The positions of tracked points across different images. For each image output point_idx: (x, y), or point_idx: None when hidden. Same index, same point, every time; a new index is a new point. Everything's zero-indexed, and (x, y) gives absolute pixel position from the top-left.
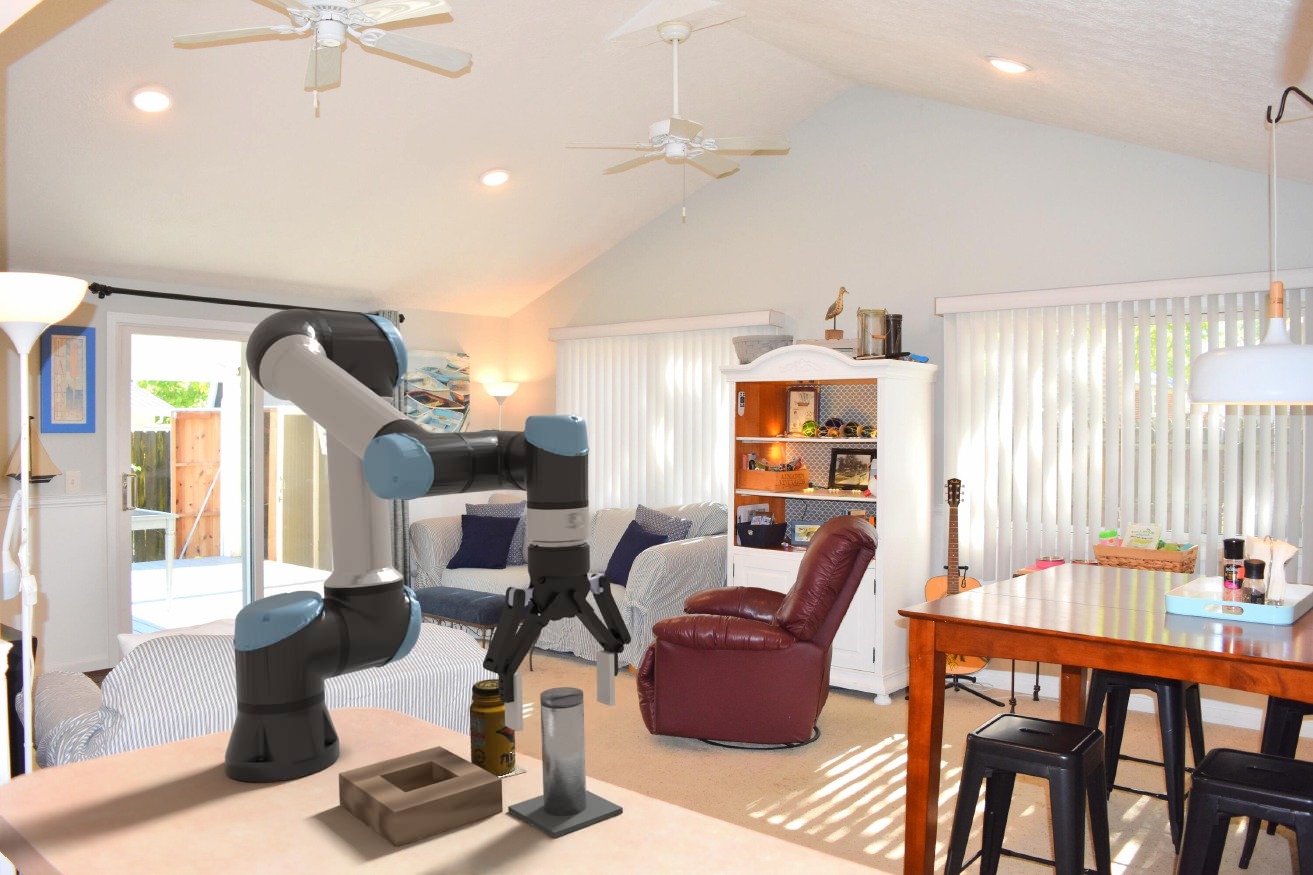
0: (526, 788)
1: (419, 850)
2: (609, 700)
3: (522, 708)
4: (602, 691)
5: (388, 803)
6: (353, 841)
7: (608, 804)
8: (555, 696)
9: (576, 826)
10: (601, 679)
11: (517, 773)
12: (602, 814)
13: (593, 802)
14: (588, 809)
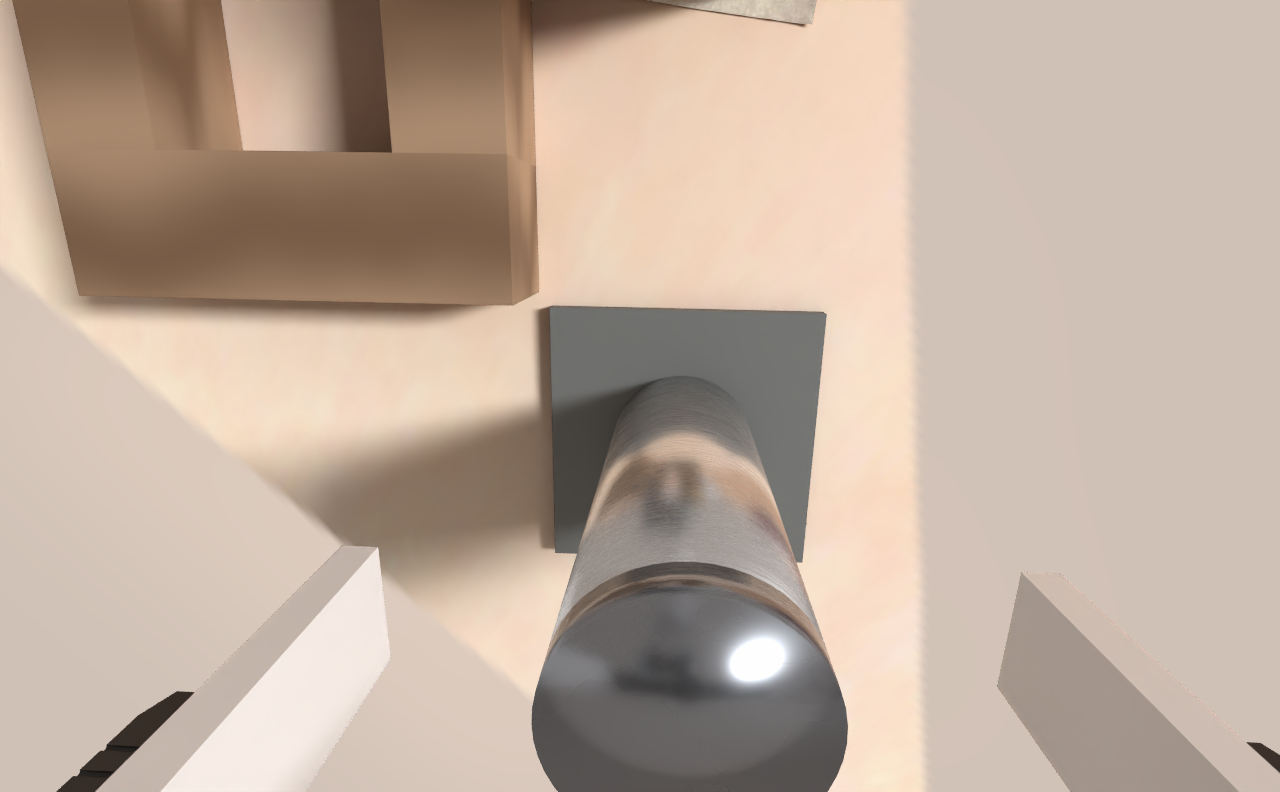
0: (706, 180)
1: (228, 351)
2: (1015, 705)
3: (329, 753)
4: (1056, 673)
5: (76, 204)
6: None
7: (788, 518)
8: (614, 748)
9: None
10: (1114, 737)
11: (770, 16)
12: None
13: (766, 475)
14: None
